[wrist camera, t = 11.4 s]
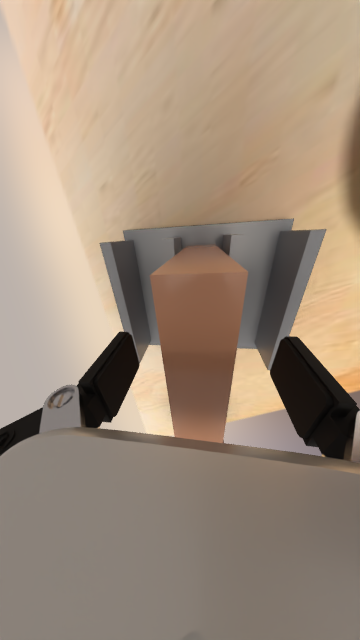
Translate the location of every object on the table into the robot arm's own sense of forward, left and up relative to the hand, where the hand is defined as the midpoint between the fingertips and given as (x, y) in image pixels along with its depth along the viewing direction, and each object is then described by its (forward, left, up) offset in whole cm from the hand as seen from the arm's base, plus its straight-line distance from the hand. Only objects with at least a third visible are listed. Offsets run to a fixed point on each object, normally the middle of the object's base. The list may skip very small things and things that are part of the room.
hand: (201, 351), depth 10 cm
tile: (0, 0, -11) cm, 11 cm away
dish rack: (0, 0, -12) cm, 12 cm away
